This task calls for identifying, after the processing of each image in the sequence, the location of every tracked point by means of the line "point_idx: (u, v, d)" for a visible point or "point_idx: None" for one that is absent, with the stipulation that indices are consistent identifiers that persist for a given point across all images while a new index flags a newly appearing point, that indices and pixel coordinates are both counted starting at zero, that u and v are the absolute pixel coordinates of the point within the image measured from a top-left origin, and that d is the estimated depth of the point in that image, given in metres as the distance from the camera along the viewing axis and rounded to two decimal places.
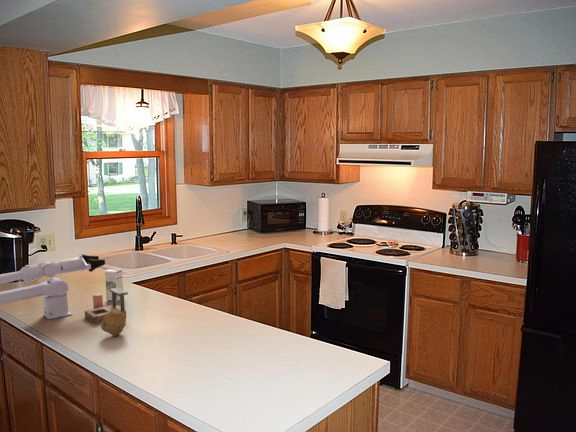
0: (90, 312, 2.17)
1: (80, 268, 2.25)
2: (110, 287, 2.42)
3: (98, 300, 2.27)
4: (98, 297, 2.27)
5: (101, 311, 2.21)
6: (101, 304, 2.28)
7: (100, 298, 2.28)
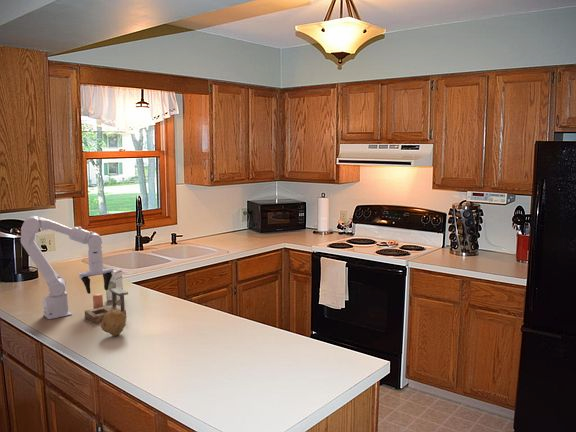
0: (90, 312, 2.17)
1: None
2: (110, 287, 2.42)
3: (98, 300, 2.27)
4: (98, 297, 2.27)
5: (101, 311, 2.21)
6: (101, 304, 2.28)
7: (100, 298, 2.28)
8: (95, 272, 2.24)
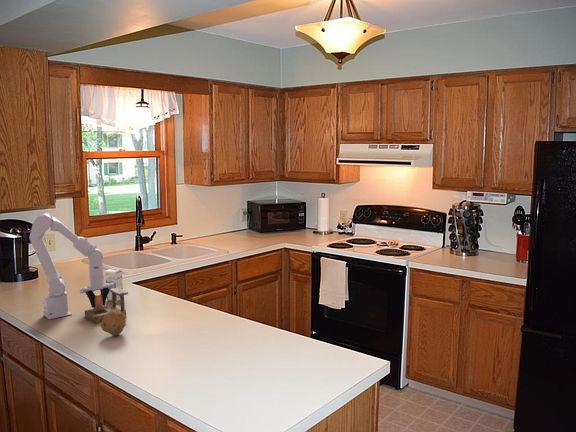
0: (90, 312, 2.17)
1: None
2: None
3: (98, 300, 2.27)
4: (98, 297, 2.27)
5: (101, 311, 2.21)
6: (101, 304, 2.28)
7: (100, 298, 2.28)
8: (96, 287, 2.25)
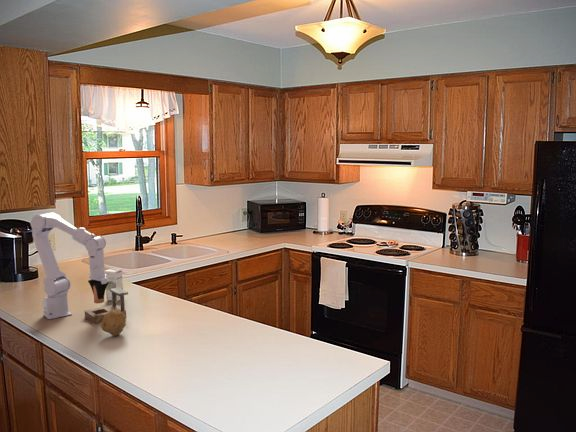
0: (90, 312, 2.17)
1: (96, 275, 2.14)
2: (110, 287, 2.42)
3: None
4: None
5: (101, 311, 2.21)
6: None
7: None
8: (105, 275, 2.17)
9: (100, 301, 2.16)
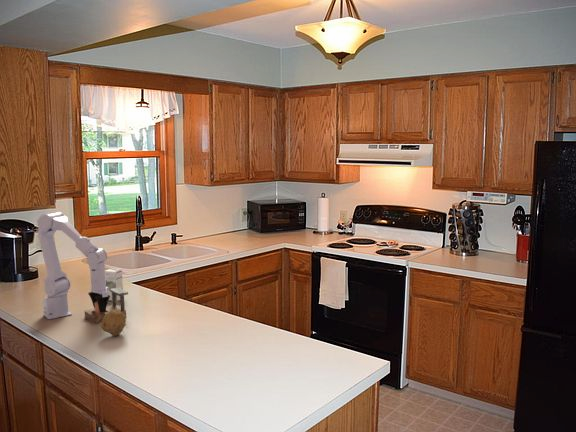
0: (90, 312, 2.17)
1: (97, 288, 2.14)
2: (110, 287, 2.42)
3: None
4: None
5: None
6: None
7: None
8: (106, 288, 2.18)
9: None
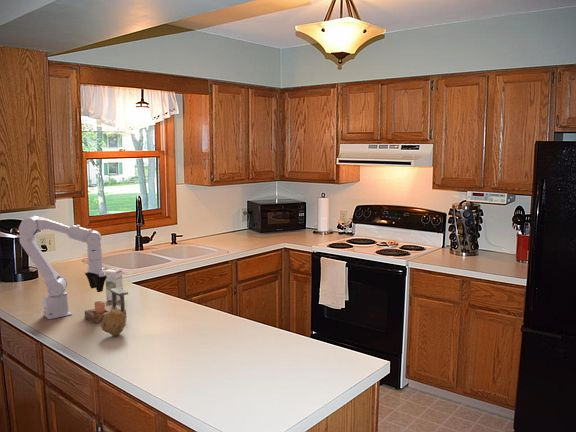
0: (90, 312, 2.17)
1: (94, 268, 2.22)
2: (110, 287, 2.42)
3: (104, 306, 2.19)
4: (104, 303, 2.19)
5: None
6: None
7: None
8: (102, 268, 2.25)
9: None
